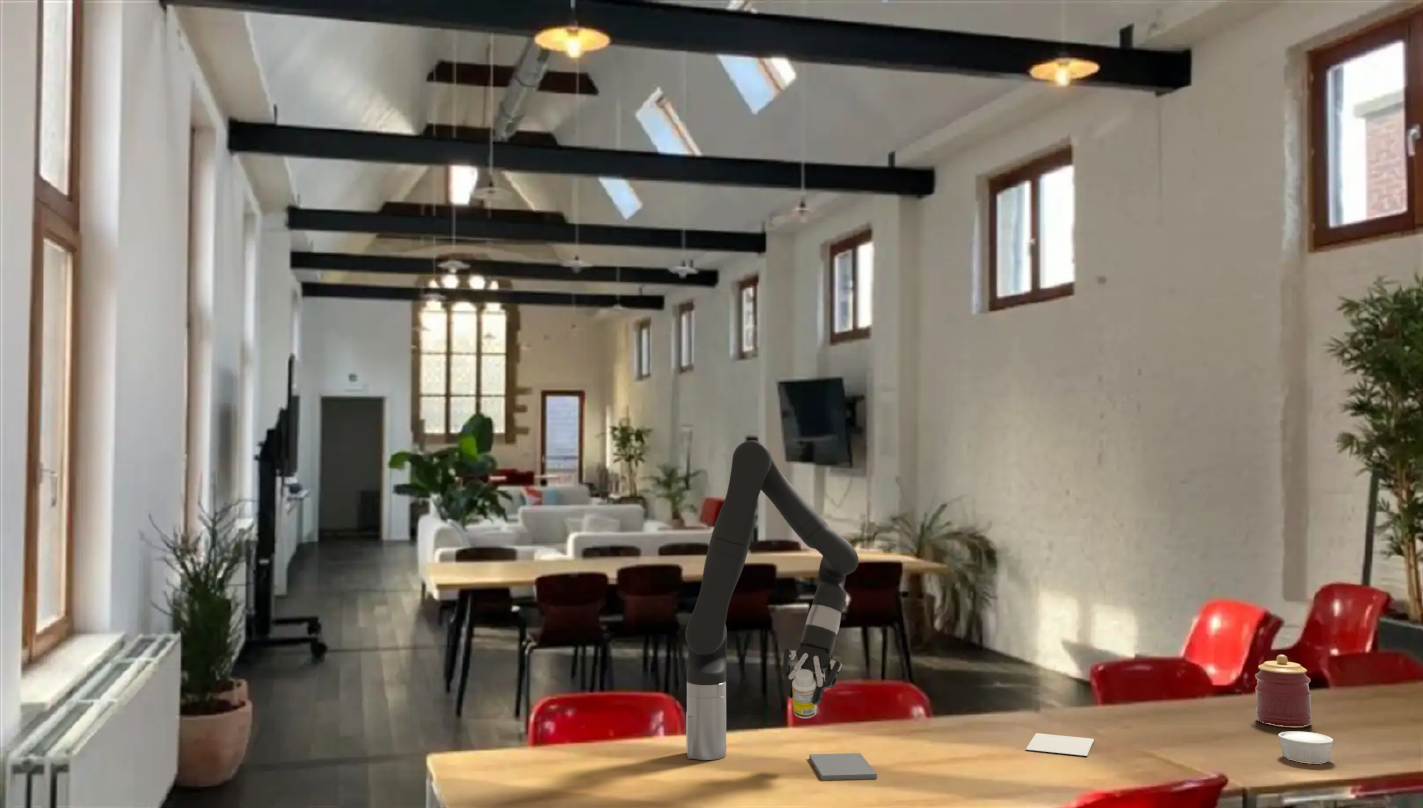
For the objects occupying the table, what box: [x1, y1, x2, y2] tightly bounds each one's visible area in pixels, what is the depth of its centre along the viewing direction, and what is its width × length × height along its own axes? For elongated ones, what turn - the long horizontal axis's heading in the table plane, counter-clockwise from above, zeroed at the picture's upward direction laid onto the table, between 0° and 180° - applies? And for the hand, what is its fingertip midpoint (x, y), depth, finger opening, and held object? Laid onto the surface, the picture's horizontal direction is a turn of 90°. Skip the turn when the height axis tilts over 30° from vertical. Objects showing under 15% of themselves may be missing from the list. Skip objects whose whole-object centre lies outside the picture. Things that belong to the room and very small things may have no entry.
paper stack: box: [1025, 732, 1095, 757], centre depth 262 cm, size 23×25×1 cm
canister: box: [1254, 654, 1313, 726], centre depth 290 cm, size 13×13×18 cm
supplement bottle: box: [792, 669, 818, 719], centre depth 251 cm, size 6×6×10 cm
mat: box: [808, 752, 878, 781], centre depth 249 cm, size 12×17×1 cm
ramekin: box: [1277, 730, 1334, 763], centre depth 255 cm, size 11×11×5 cm
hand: (801, 700), depth 250 cm, fingers closed on supplement bottle, 5 cm apart
